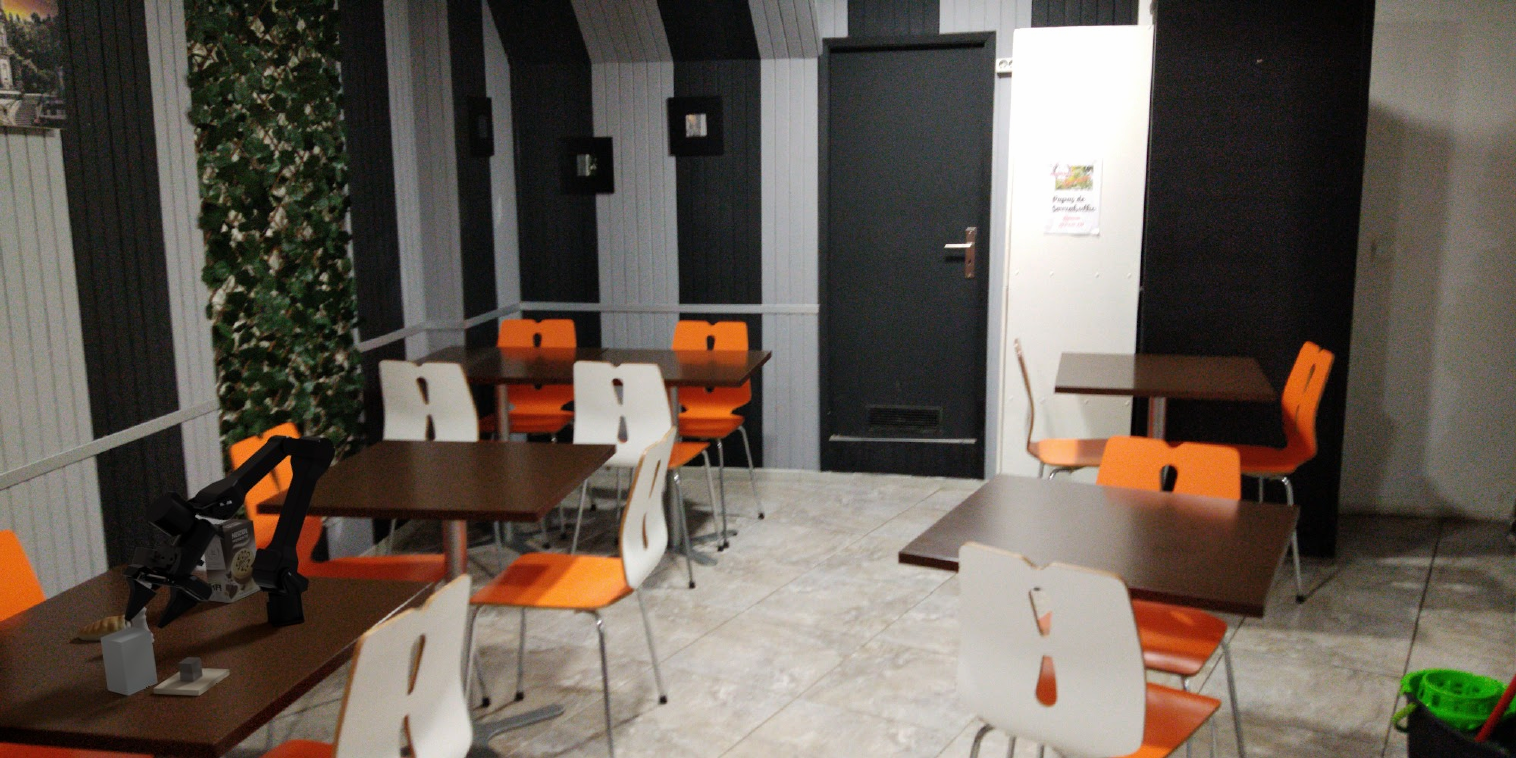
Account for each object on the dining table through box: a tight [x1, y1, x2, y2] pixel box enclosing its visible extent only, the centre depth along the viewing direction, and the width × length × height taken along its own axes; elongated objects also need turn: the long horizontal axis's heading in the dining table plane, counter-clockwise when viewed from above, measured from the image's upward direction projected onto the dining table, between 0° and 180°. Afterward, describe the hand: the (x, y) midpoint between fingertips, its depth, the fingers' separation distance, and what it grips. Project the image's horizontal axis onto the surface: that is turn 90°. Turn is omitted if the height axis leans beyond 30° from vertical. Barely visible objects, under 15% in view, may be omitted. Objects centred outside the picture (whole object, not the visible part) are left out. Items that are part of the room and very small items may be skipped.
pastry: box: [76, 614, 132, 641], centre depth 246 cm, size 9×7×4 cm
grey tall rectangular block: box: [100, 625, 159, 696], centre depth 219 cm, size 6×6×10 cm
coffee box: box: [203, 518, 261, 604], centre depth 265 cm, size 9×6×16 cm
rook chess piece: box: [130, 606, 155, 644], centre depth 239 cm, size 4×4×8 cm
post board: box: [152, 656, 230, 697], centre depth 220 cm, size 9×9×4 cm
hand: (142, 624), depth 221 cm, fingers open, 9 cm apart
